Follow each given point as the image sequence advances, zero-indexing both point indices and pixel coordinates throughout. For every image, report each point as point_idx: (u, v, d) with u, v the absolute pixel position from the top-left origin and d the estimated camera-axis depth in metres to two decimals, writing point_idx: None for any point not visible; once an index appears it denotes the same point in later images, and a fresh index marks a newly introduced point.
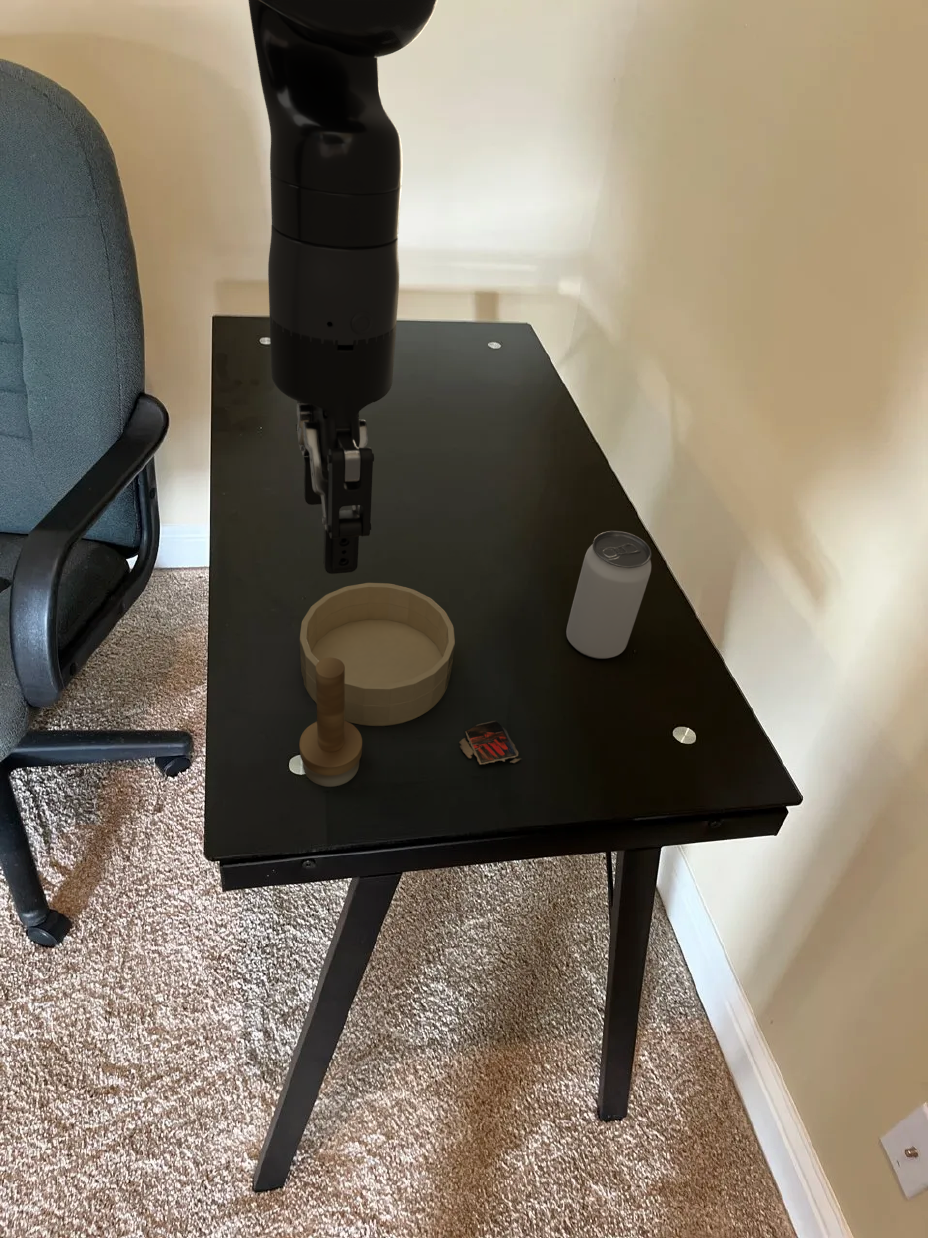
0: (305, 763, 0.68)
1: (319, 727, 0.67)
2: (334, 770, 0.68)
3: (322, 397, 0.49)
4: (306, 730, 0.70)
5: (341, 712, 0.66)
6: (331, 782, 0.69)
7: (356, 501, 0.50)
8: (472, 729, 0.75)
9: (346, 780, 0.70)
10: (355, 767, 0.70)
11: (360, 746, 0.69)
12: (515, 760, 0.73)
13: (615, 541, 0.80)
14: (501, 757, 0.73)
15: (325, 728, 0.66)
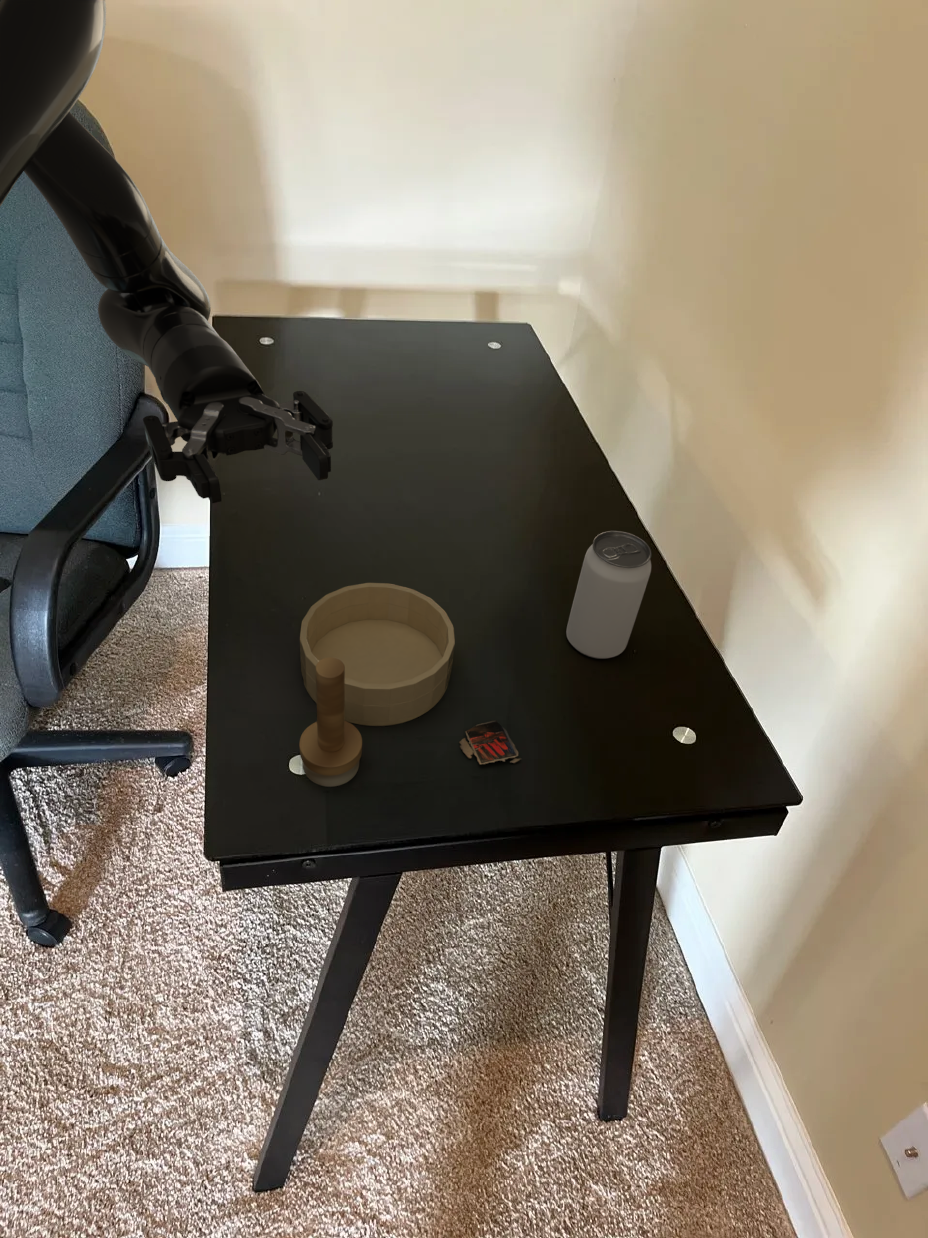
0: (305, 763, 0.68)
1: (319, 727, 0.67)
2: (334, 770, 0.68)
3: None
4: (306, 730, 0.70)
5: (341, 712, 0.66)
6: (331, 782, 0.69)
7: None
8: (472, 729, 0.75)
9: (346, 780, 0.70)
10: (355, 767, 0.70)
11: (360, 746, 0.69)
12: (515, 760, 0.73)
13: (615, 541, 0.80)
14: (501, 757, 0.73)
15: (325, 728, 0.66)
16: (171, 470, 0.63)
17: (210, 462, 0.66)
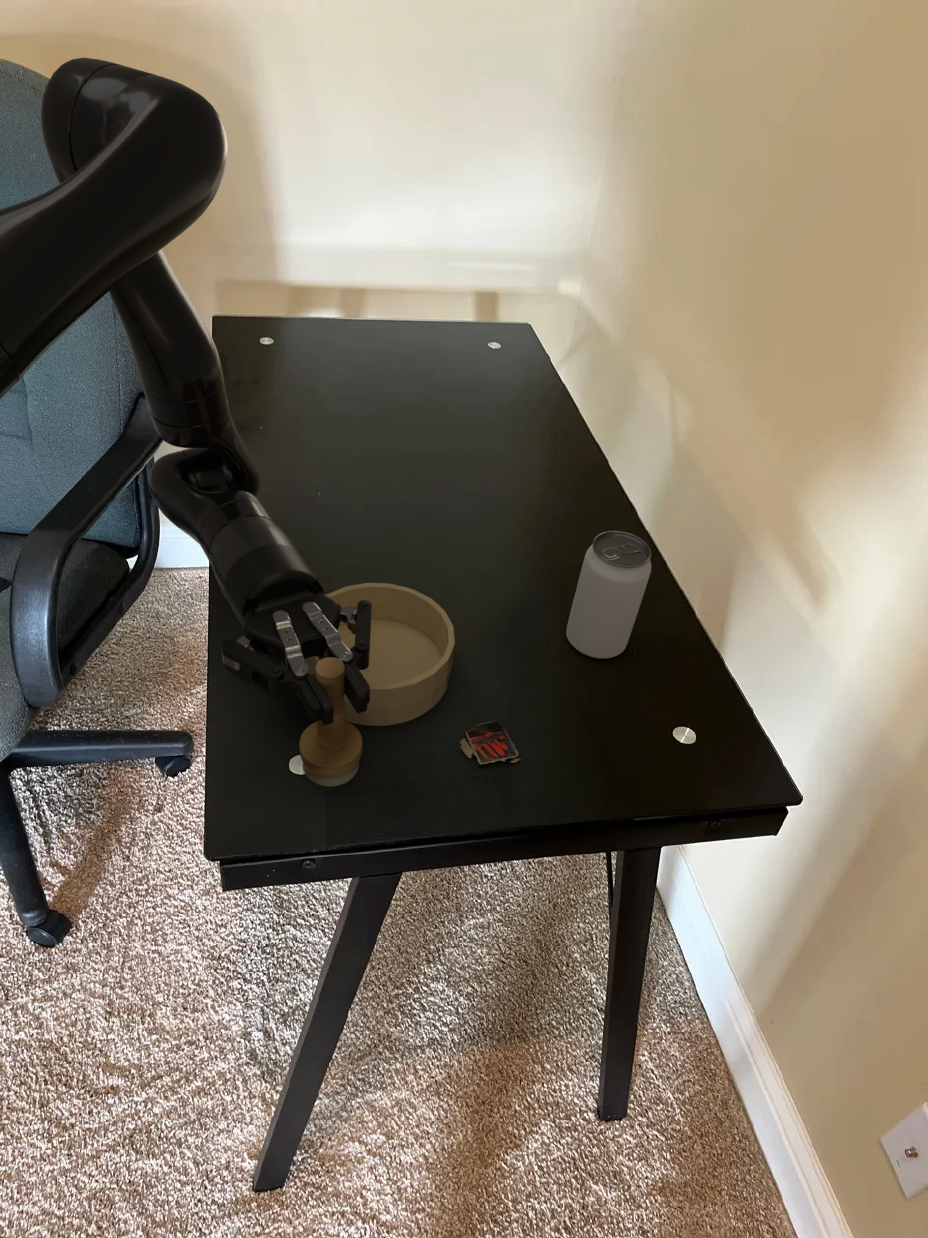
0: (305, 763, 0.68)
1: (319, 727, 0.67)
2: (334, 770, 0.68)
3: None
4: (306, 730, 0.70)
5: (341, 712, 0.66)
6: (331, 782, 0.69)
7: None
8: (472, 729, 0.75)
9: (346, 780, 0.70)
10: (355, 767, 0.70)
11: (360, 746, 0.69)
12: (515, 760, 0.73)
13: (615, 541, 0.80)
14: (501, 757, 0.73)
15: (325, 728, 0.66)
16: (281, 689, 0.64)
17: None
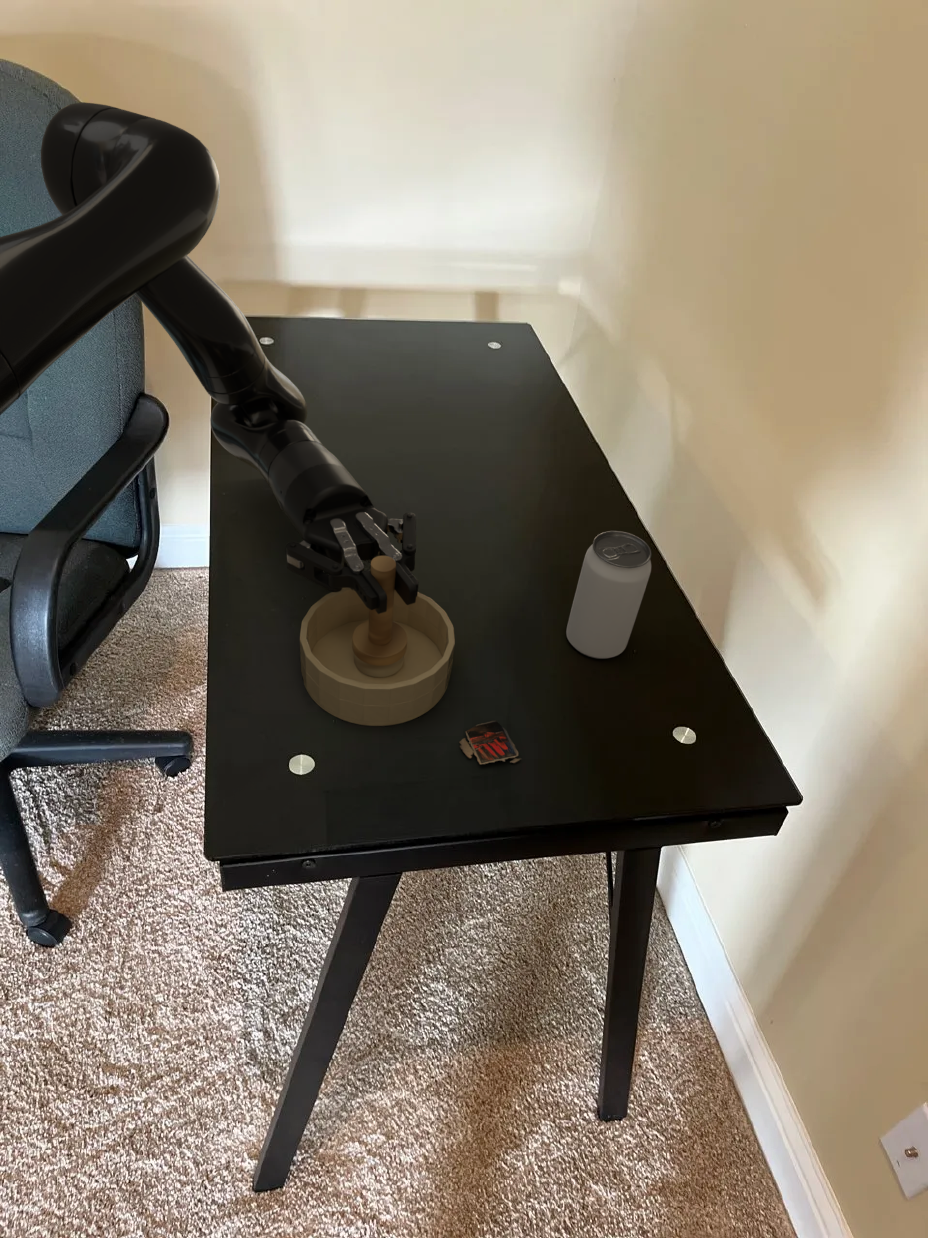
0: (357, 655, 0.77)
1: (371, 621, 0.76)
2: (383, 660, 0.76)
3: None
4: (357, 627, 0.78)
5: (391, 606, 0.75)
6: (380, 673, 0.78)
7: None
8: (472, 729, 0.75)
9: (393, 672, 0.78)
10: (401, 660, 0.79)
11: (406, 641, 0.78)
12: (515, 760, 0.73)
13: (615, 541, 0.80)
14: (501, 757, 0.73)
15: (376, 621, 0.75)
16: (340, 583, 0.73)
17: None
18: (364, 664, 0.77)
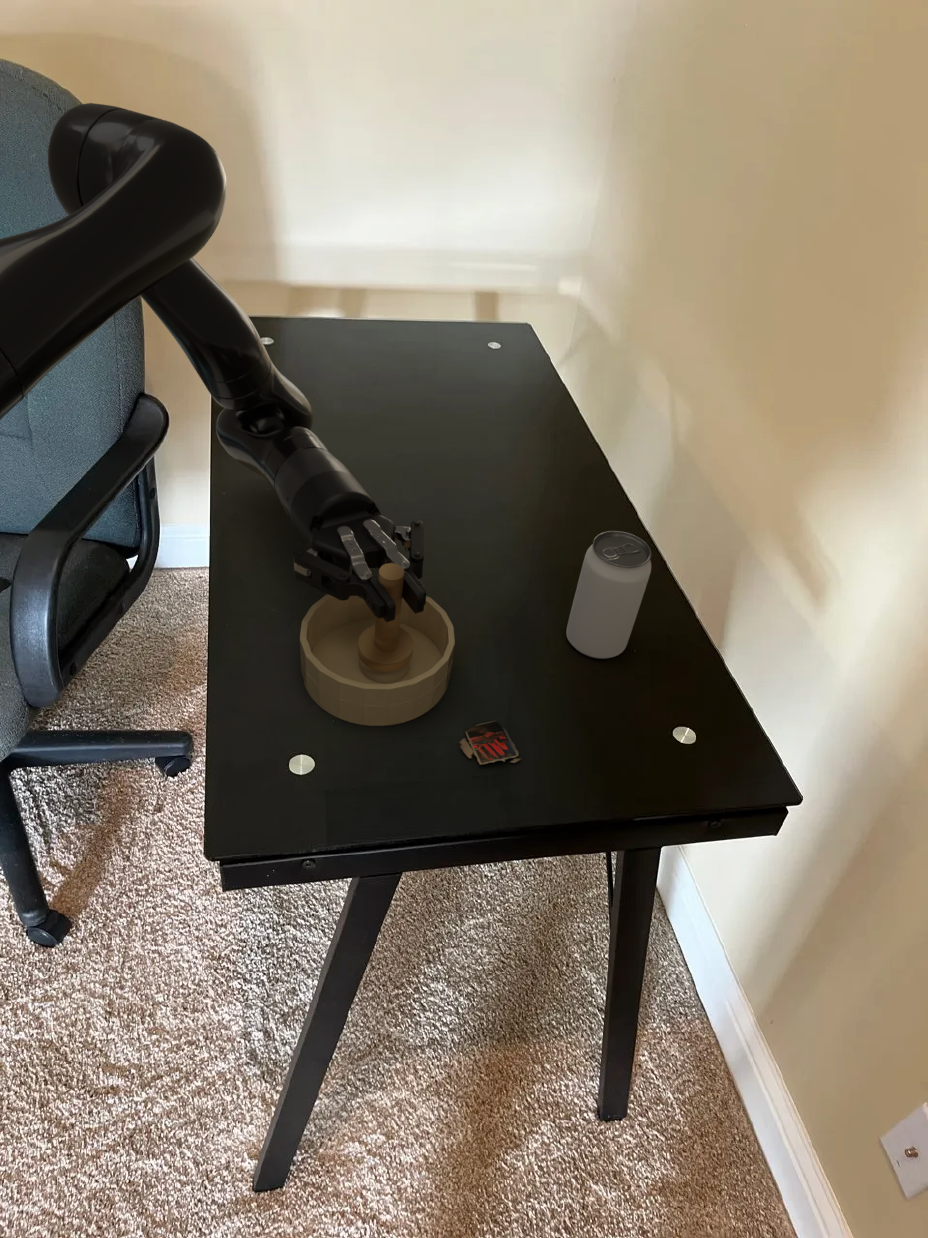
0: (363, 660, 0.77)
1: (377, 627, 0.75)
2: (389, 667, 0.76)
3: None
4: (363, 632, 0.78)
5: (398, 614, 0.74)
6: (385, 678, 0.77)
7: None
8: (472, 729, 0.75)
9: (398, 677, 0.78)
10: (406, 666, 0.78)
11: (412, 647, 0.77)
12: (515, 760, 0.73)
13: (615, 541, 0.80)
14: (501, 757, 0.73)
15: (383, 628, 0.75)
16: (348, 591, 0.72)
17: None
18: (370, 670, 0.77)
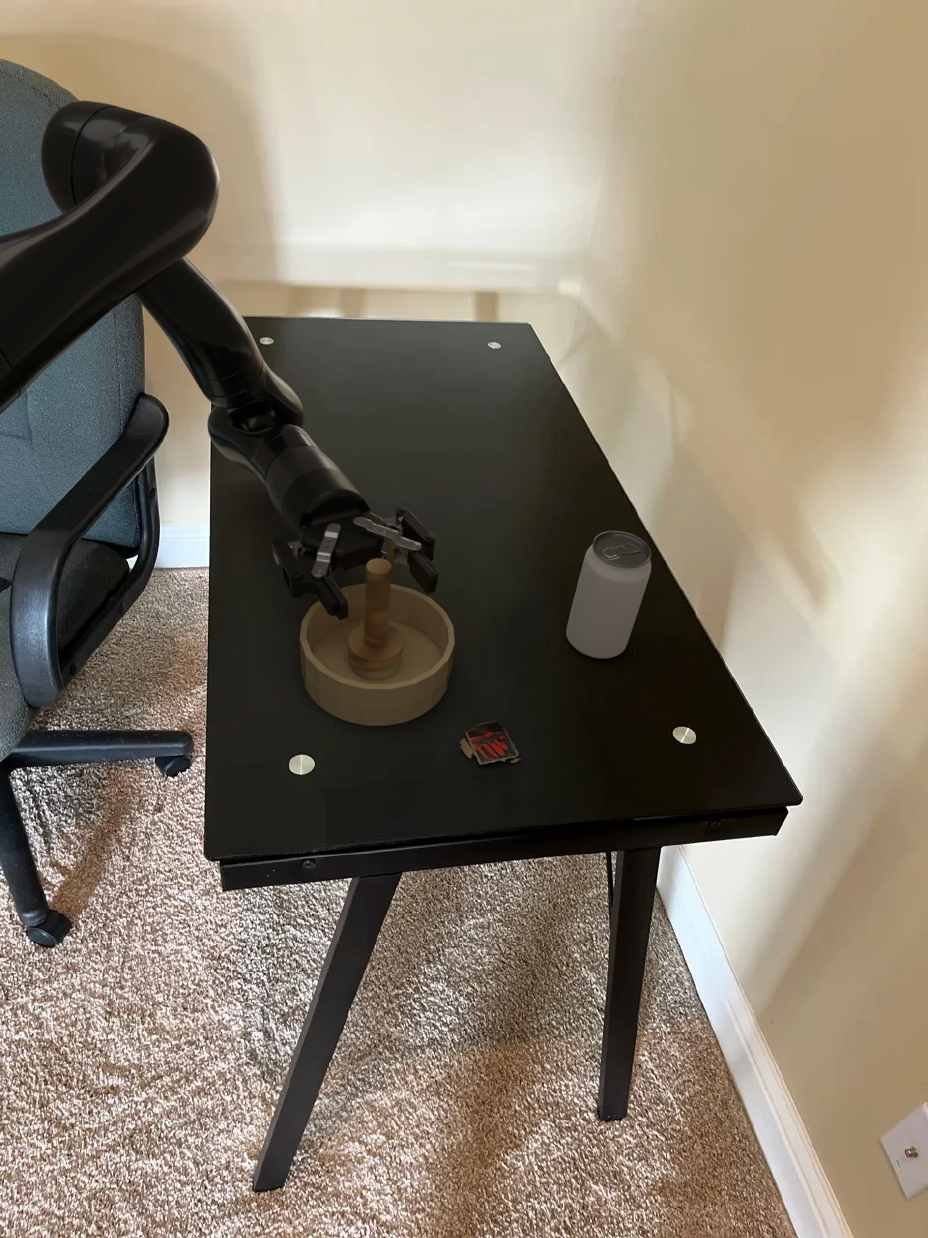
0: (353, 658, 0.77)
1: (367, 624, 0.75)
2: (379, 663, 0.76)
3: None
4: (353, 631, 0.78)
5: (387, 609, 0.74)
6: (376, 676, 0.78)
7: None
8: (472, 729, 0.75)
9: (389, 675, 0.78)
10: (397, 663, 0.78)
11: (402, 644, 0.78)
12: (515, 760, 0.73)
13: (615, 541, 0.80)
14: (501, 757, 0.73)
15: (372, 624, 0.75)
16: (301, 589, 0.72)
17: None
18: (360, 667, 0.77)
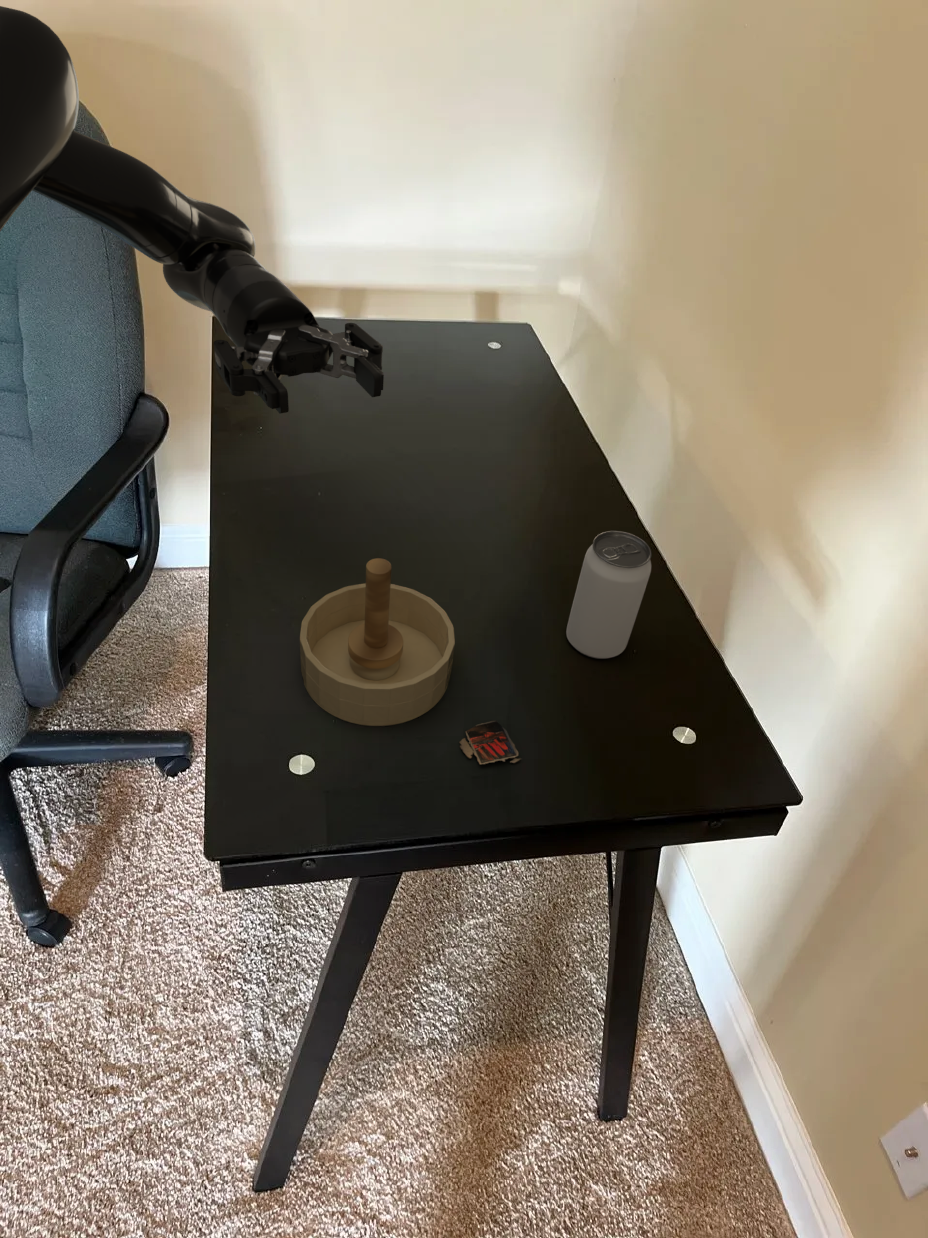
0: (353, 658, 0.77)
1: (367, 624, 0.75)
2: (379, 663, 0.76)
3: None
4: (353, 631, 0.78)
5: (387, 609, 0.74)
6: (376, 676, 0.78)
7: None
8: (472, 729, 0.75)
9: (389, 675, 0.78)
10: (397, 663, 0.78)
11: (402, 644, 0.78)
12: (515, 760, 0.73)
13: (615, 541, 0.80)
14: (501, 757, 0.73)
15: (372, 624, 0.75)
16: (242, 385, 0.70)
17: None
18: (360, 667, 0.77)
